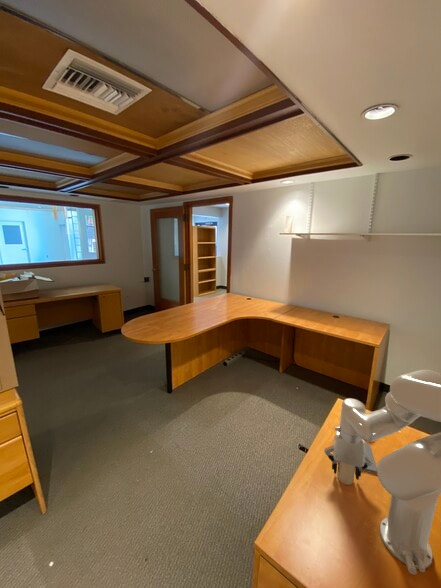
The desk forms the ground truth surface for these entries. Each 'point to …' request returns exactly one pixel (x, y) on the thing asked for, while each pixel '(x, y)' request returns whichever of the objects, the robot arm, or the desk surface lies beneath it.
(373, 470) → the slate coaster
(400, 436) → the desk surface
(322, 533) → the desk surface
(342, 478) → the candle
